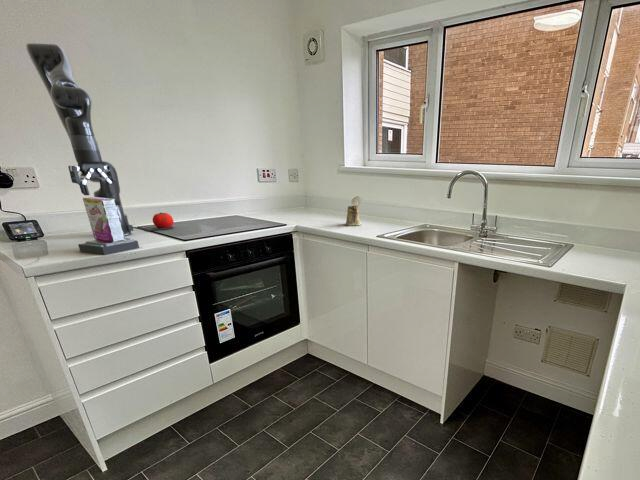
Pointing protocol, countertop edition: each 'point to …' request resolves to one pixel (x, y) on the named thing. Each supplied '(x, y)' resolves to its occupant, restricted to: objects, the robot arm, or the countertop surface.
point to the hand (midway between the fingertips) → (98, 194)
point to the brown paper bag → (353, 213)
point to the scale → (108, 248)
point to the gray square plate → (108, 242)
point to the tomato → (163, 220)
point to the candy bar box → (104, 219)
